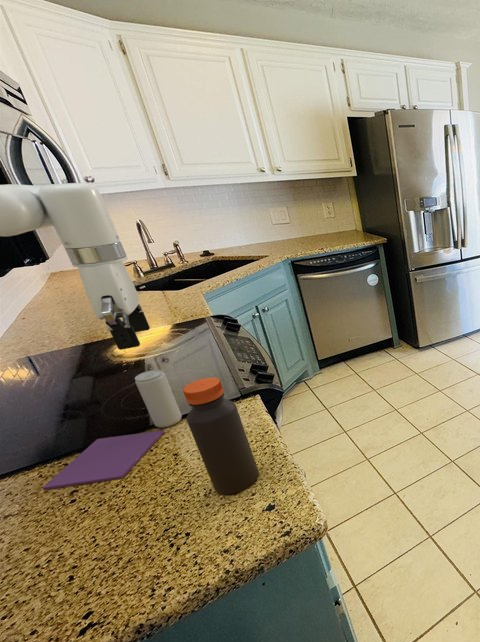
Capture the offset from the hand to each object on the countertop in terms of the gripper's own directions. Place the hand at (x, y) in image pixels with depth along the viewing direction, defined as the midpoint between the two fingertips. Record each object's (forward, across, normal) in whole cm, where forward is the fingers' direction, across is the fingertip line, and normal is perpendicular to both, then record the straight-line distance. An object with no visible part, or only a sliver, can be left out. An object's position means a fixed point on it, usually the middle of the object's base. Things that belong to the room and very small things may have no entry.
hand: (135, 338), depth 82 cm
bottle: (+20, +30, +13) cm, 38 cm away
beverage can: (+20, 0, -1) cm, 20 cm away
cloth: (+20, +9, -9) cm, 24 cm away
